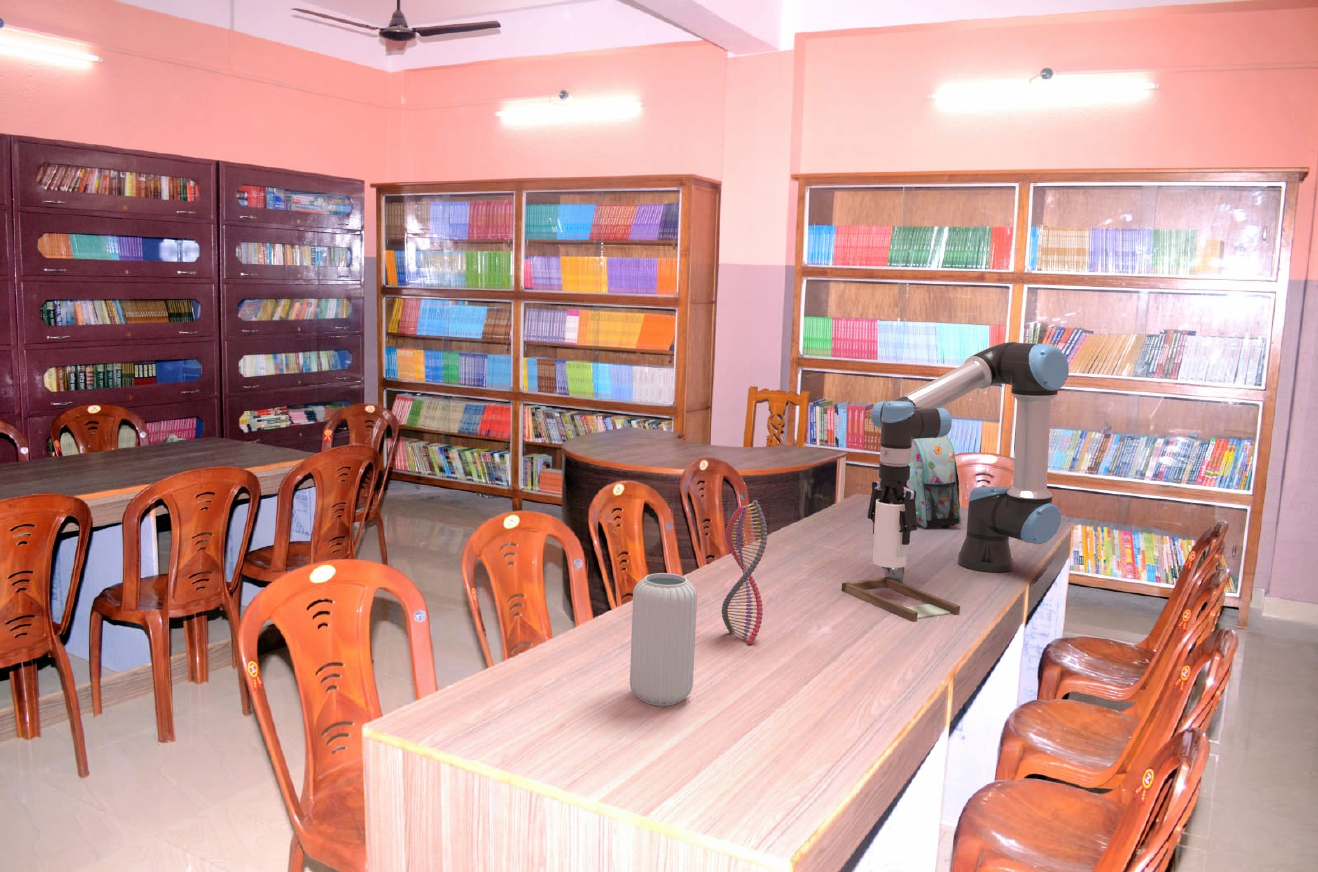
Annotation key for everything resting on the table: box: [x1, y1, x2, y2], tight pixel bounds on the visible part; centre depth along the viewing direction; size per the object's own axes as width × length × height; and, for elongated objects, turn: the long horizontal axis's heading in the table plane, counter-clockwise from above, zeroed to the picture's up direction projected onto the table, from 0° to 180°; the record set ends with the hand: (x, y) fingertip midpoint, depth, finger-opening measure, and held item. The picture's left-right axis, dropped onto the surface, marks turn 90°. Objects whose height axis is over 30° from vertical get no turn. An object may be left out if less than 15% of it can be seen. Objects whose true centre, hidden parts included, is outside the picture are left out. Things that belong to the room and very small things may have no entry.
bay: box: [841, 577, 961, 622], centre depth 240 cm, size 15×26×2 cm, turn 28°
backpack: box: [879, 434, 962, 529], centre depth 333 cm, size 28×25×32 cm
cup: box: [872, 499, 908, 568], centre depth 243 cm, size 8×8×16 cm
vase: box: [629, 572, 698, 707], centre depth 174 cm, size 12×12×22 cm
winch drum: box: [881, 566, 905, 584], centre depth 254 cm, size 6×5×8 cm
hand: (890, 552), depth 244 cm, fingers closed on cup, 8 cm apart
